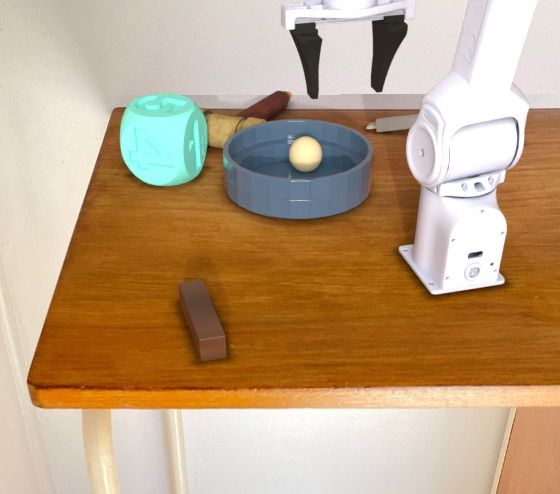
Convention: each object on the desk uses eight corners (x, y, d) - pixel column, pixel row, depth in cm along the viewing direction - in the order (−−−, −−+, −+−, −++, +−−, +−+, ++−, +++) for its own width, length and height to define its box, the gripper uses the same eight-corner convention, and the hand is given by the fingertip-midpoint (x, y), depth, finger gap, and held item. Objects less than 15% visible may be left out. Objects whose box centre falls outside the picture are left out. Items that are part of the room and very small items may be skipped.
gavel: (258, 71, 120) (323, 82, 117) (257, 105, 123) (321, 117, 120) (182, 112, 106) (254, 125, 103) (184, 149, 109) (254, 163, 106)
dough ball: (326, 175, 102) (327, 142, 99) (294, 179, 101) (294, 146, 99) (316, 162, 105) (317, 129, 102) (285, 166, 104) (285, 133, 101)
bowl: (391, 213, 97) (395, 169, 93) (244, 232, 93) (243, 188, 90) (343, 152, 108) (345, 112, 105) (211, 168, 105) (208, 127, 102)
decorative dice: (185, 190, 101) (179, 121, 95) (124, 181, 102) (114, 113, 97) (209, 163, 106) (205, 96, 100) (151, 155, 108) (144, 89, 102)
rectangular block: (227, 358, 77) (225, 335, 75) (201, 362, 76) (199, 339, 74) (204, 300, 83) (202, 279, 82) (180, 304, 83) (178, 282, 81)
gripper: (403, -60, 91) (392, 75, 101) (273, -51, 88) (274, 86, 98) (428, -44, 86) (414, 95, 96) (291, -34, 84) (290, 108, 93)
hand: (344, 92), depth 96 cm, fingers open, 7 cm apart
